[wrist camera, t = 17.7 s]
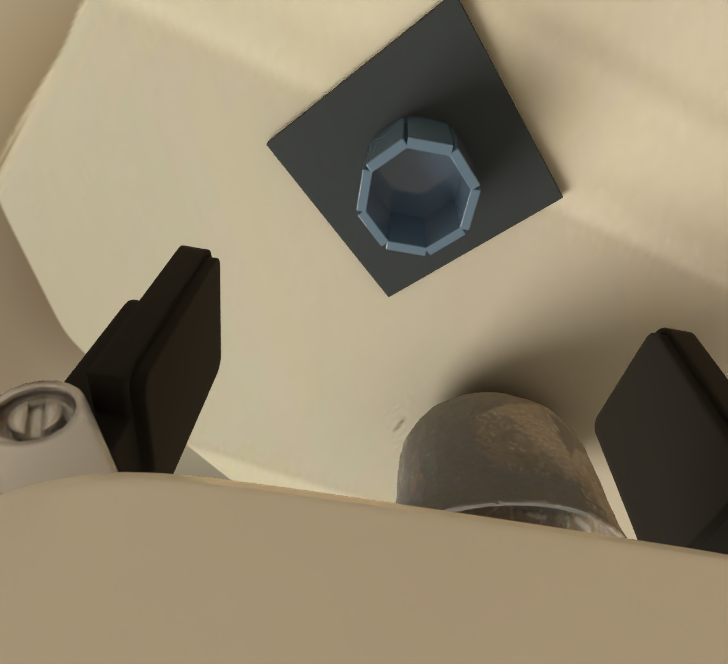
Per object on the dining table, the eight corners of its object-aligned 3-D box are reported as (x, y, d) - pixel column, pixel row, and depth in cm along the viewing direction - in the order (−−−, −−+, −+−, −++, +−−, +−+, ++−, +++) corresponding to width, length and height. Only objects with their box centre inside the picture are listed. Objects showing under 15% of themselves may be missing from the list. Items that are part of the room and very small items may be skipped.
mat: (267, 141, 34) (265, 144, 33) (454, -9, 28) (455, -8, 28) (388, 293, 40) (388, 297, 40) (561, 194, 35) (563, 197, 34)
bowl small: (343, 158, 34) (334, 186, 30) (433, 93, 31) (437, 113, 27) (401, 238, 37) (400, 272, 33) (488, 184, 34) (498, 215, 30)
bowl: (356, 455, 51) (340, 609, 39) (426, 319, 41) (433, 470, 29) (518, 501, 54) (550, 659, 42) (621, 383, 44) (703, 547, 32)
